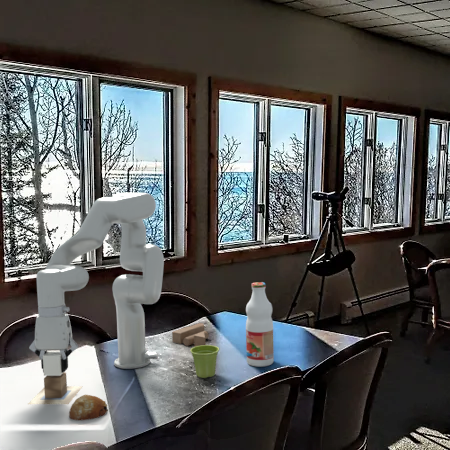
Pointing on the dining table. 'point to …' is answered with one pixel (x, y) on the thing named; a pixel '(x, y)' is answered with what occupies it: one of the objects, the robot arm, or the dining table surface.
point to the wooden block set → (191, 335)
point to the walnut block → (55, 386)
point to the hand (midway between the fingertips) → (55, 370)
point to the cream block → (52, 363)
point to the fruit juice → (259, 328)
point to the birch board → (64, 400)
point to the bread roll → (87, 408)
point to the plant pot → (205, 360)
